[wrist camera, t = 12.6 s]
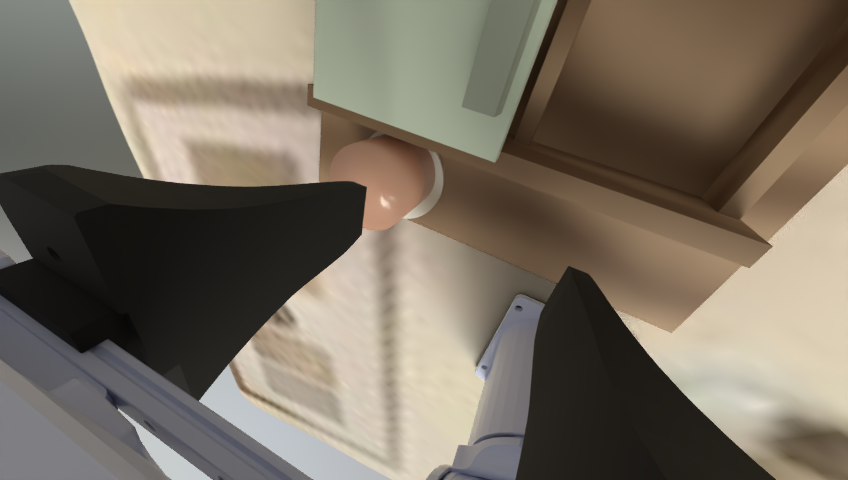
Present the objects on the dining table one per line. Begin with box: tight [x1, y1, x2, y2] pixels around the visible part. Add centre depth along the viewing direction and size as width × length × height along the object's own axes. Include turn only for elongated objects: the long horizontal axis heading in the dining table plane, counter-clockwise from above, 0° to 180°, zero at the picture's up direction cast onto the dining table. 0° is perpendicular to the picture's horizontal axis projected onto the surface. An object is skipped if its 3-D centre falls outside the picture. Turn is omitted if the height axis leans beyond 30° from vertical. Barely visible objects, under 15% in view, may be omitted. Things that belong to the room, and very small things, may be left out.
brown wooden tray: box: [308, 0, 848, 333], centre depth 13 cm, size 20×25×5 cm
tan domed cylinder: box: [329, 134, 435, 231], centre depth 18 cm, size 5×5×4 cm
